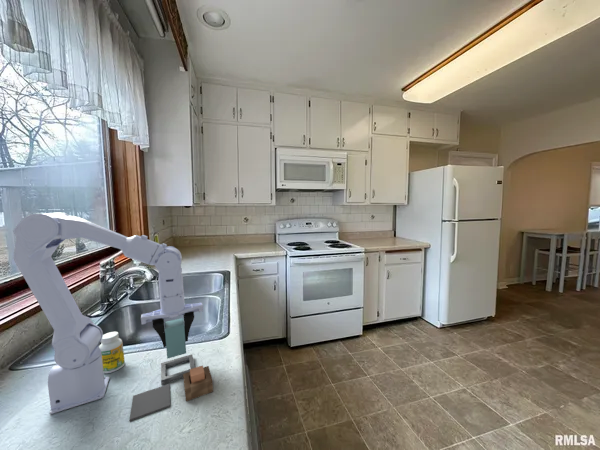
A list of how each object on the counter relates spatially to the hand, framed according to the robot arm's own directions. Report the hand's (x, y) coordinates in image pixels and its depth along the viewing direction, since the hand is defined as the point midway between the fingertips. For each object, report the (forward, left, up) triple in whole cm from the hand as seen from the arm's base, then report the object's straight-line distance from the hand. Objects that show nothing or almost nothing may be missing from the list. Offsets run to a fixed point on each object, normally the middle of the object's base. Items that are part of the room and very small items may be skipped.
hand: (175, 342), depth 68 cm
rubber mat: (-6, -9, -8) cm, 13 cm away
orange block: (+4, -10, -8) cm, 13 cm away
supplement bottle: (-16, +11, -8) cm, 21 cm away
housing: (+4, -10, -8) cm, 13 cm away
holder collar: (0, 0, -8) cm, 8 cm away
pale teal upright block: (0, 0, -3) cm, 3 cm away
